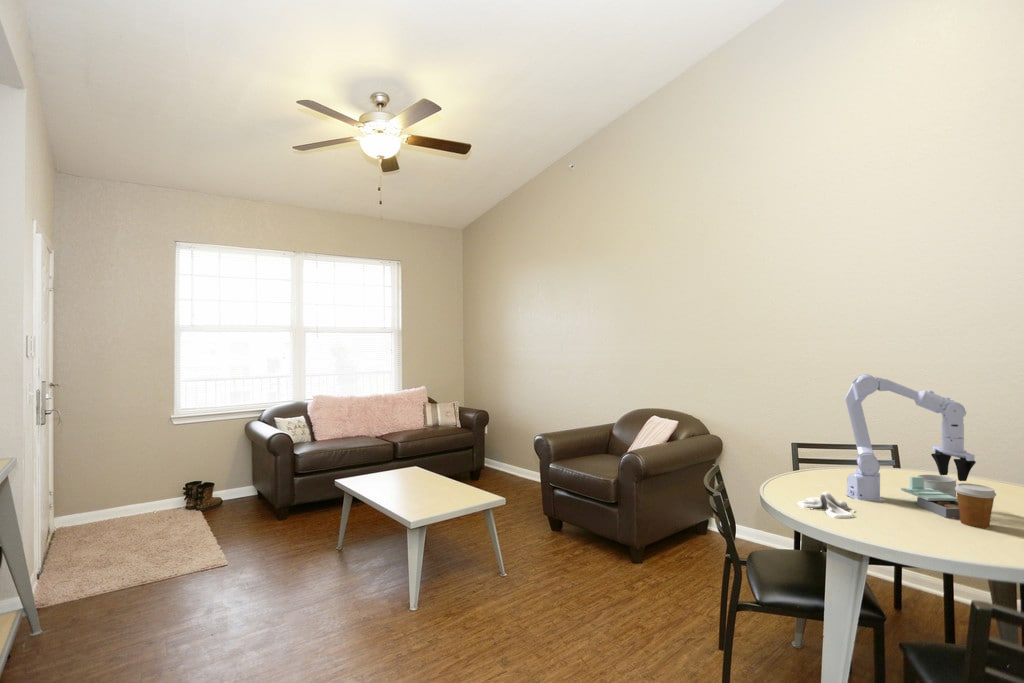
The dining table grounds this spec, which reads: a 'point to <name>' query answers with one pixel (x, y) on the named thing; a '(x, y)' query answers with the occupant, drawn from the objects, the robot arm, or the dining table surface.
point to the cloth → (828, 505)
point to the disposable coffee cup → (975, 504)
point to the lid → (926, 491)
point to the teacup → (940, 483)
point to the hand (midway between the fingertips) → (952, 477)
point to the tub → (939, 508)
